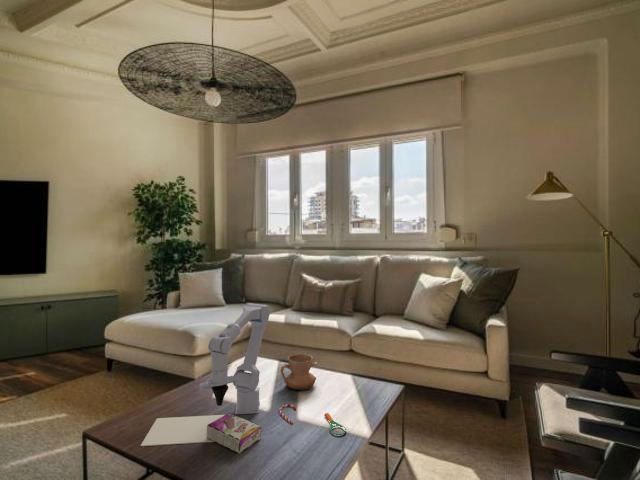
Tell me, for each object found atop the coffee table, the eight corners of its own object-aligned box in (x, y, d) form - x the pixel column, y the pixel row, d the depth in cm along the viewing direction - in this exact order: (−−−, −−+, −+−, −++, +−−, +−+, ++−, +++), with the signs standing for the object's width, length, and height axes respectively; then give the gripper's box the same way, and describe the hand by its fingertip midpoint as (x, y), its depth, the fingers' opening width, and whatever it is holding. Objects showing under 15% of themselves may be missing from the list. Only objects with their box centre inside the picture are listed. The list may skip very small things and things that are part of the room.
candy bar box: (229, 411, 137) (262, 425, 128) (228, 424, 137) (261, 439, 128) (206, 424, 127) (240, 440, 118) (205, 438, 127) (239, 454, 119)
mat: (224, 415, 144) (224, 414, 144) (218, 441, 126) (218, 440, 126) (157, 419, 140) (157, 418, 140) (140, 446, 122) (140, 445, 122)
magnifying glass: (348, 436, 132) (349, 431, 131) (333, 439, 129) (333, 434, 129) (333, 415, 146) (333, 411, 146) (319, 418, 144) (319, 414, 144)
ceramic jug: (315, 379, 180) (315, 351, 180) (319, 392, 166) (319, 361, 166) (280, 381, 178) (280, 353, 178) (280, 394, 164) (280, 363, 163)
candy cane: (283, 423, 137) (276, 405, 151) (283, 426, 137) (276, 408, 151) (303, 420, 139) (294, 402, 154) (303, 424, 139) (294, 405, 154)
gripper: (233, 361, 141) (233, 395, 141) (196, 369, 132) (196, 405, 132) (241, 367, 135) (240, 402, 135) (202, 375, 126) (202, 413, 127)
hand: (219, 404), depth 133 cm, fingers closed
